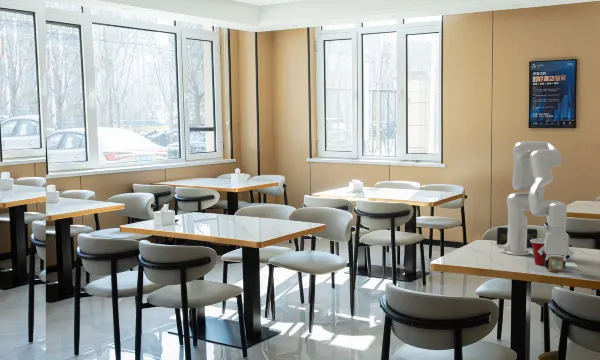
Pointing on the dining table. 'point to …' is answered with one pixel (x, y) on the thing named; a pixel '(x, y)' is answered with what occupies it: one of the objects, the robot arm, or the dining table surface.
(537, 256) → the plastic cup
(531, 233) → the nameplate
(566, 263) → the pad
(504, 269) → the dining table surface
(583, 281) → the dining table surface
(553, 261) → the letter block
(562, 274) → the grey pad
